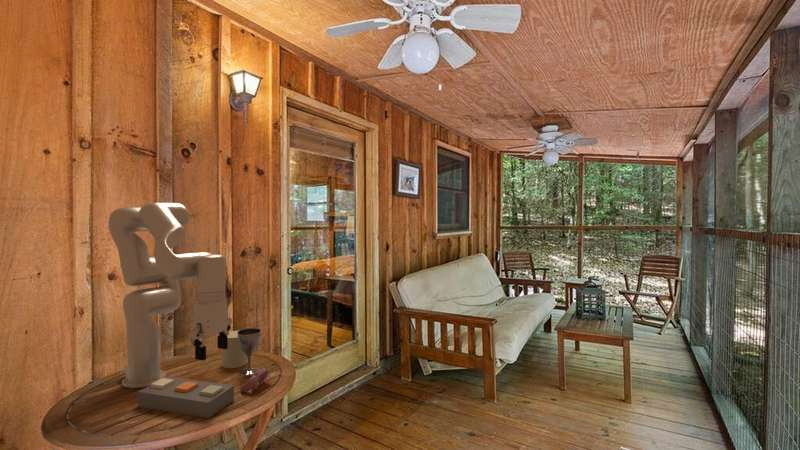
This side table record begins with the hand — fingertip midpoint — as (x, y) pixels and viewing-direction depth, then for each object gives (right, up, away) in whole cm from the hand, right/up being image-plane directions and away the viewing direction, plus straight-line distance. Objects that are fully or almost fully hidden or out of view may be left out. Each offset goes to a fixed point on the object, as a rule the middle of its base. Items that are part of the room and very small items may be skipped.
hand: (212, 353), depth 115 cm
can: (-7, -15, +33) cm, 37 cm away
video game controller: (+8, -16, +14) cm, 23 cm away
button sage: (0, -14, 0) cm, 14 cm away
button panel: (-9, -16, +3) cm, 19 cm away
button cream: (-18, -13, +5) cm, 23 cm away
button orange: (-9, -13, +3) cm, 16 cm away
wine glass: (+1, -16, +26) cm, 30 cm away
